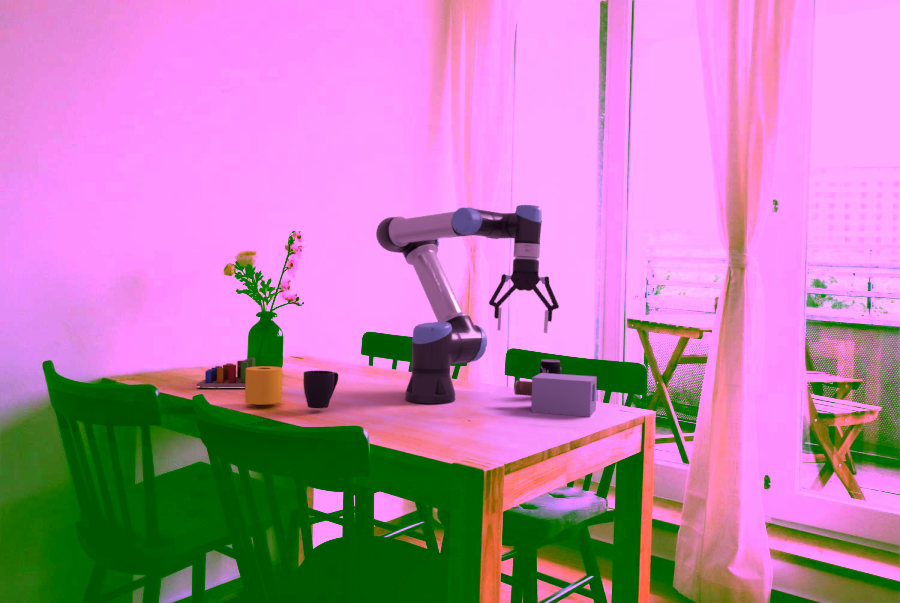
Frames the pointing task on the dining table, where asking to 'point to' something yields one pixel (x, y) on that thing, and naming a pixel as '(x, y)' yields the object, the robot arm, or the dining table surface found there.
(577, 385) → the block
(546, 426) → the dining table surface
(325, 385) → the mug
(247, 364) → the peg board toy
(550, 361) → the beverage can
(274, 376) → the toilet paper roll
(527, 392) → the peg
